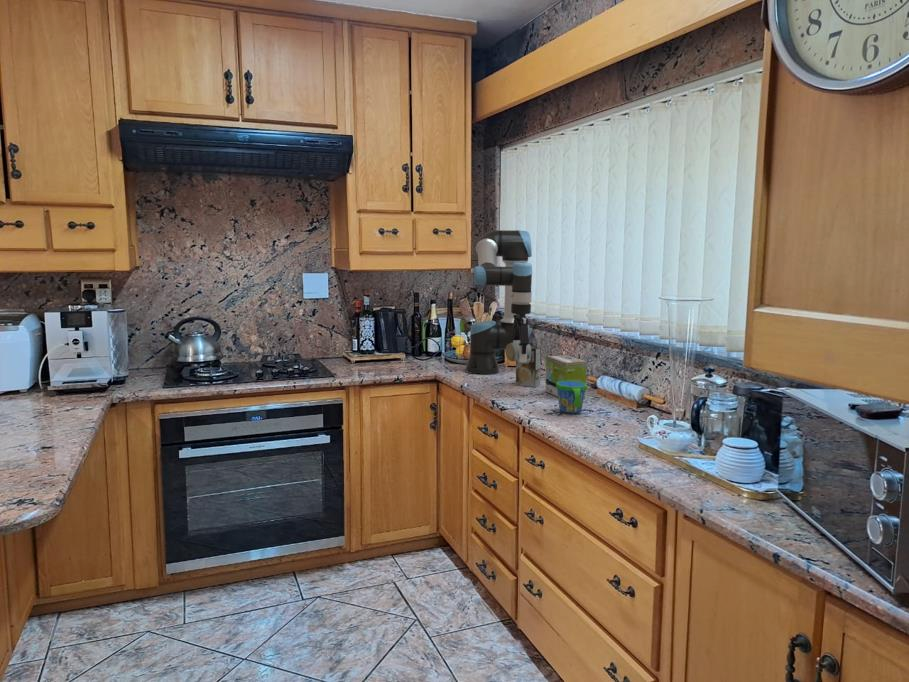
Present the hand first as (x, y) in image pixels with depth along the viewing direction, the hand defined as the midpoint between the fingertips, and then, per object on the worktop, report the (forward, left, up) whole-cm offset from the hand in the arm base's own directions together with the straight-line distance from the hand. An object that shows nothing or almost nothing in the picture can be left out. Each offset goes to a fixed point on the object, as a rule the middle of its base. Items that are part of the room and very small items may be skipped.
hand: (519, 359), depth 259 cm
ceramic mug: (0, 0, -1) cm, 1 cm away
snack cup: (+29, +12, -14) cm, 35 cm away
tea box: (+2, +18, -14) cm, 23 cm away
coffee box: (-18, +8, -14) cm, 24 cm away
